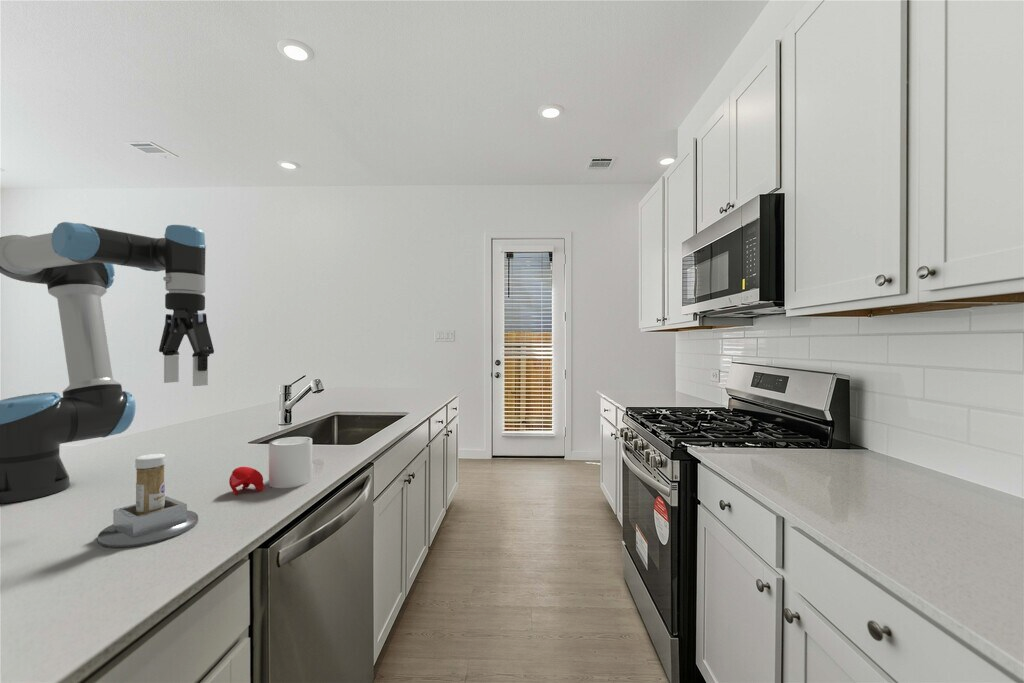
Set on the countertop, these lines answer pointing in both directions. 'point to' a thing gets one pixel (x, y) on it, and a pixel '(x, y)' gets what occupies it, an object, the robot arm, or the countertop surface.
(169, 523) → the square hole disc
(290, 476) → the mug
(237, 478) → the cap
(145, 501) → the sprinkles bottle
